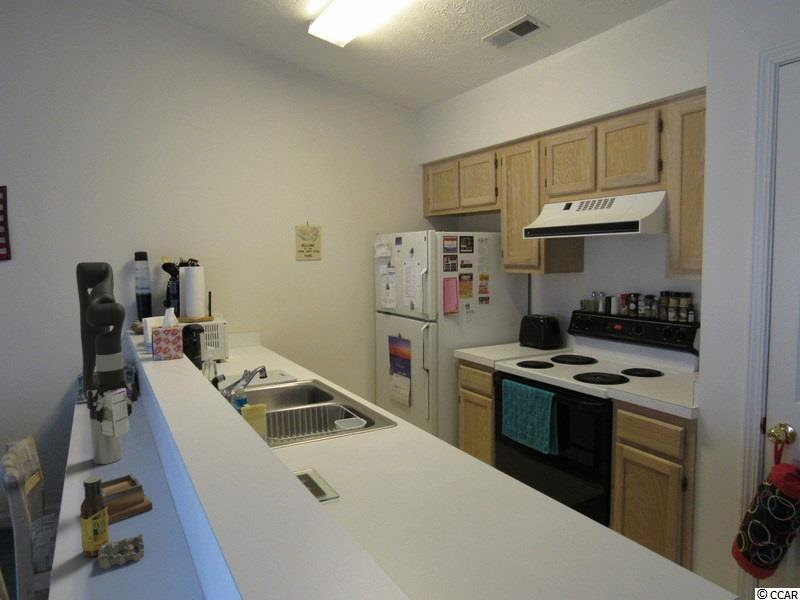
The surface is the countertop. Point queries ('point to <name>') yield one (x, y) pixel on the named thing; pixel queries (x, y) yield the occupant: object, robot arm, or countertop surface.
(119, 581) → the countertop surface
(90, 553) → the sauce bottle
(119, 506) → the stand
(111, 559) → the egg carton
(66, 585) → the countertop surface
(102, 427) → the syrup box
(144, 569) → the countertop surface
